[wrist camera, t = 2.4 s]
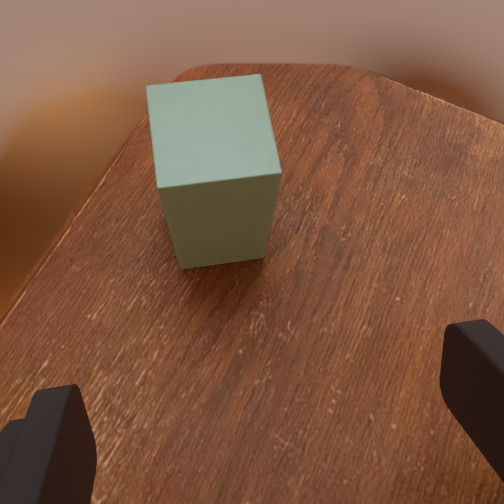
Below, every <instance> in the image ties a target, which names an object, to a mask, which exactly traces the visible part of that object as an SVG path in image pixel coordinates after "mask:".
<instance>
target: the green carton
mask: <svg viewBox="0 0 504 504" xmlns="http://www.w3.org/2000/svg"><path fill="white" fill-rule="evenodd" d="M146 96H147V105H148V114H149V123H150V132H151V141H152V150H153V159H154V168H155V177H156V187H157V191H158V194H159V198H160V201H161V205H162V208H163V211H164V215H165V218H166V222H167V225H168V229H169V232H170V235H171V239H172V242H173V246H174V249H175V253H176V256H177V259H178V263H179V266H180V269H181V270H183V269H190V268H197V267H204V266H211V265H218V264H225V263H232V262H239V261H246V260H253V259H260V258H264V256H265V251H266V246H267V242H268V237H269V232H270V228H271V223H272V218H273V213H274V209H275V204H276V199H277V195H278V190H279V185H280V180H281V176H282V169H281V165H280V160H279V156H278V151H277V146H276V142H275V137H274V132H273V128H272V123H271V119H270V114H269V109H268V105H267V100H266V95H265V91H264V86H263V82H262V77H261V74H255V75H246V76H236V77H226V78H216V79H206V80H196V81H187V82H177V83H168V84H157V85H147V86H146Z"/></svg>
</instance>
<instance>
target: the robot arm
mask: <svg viewBox="0 0 504 504" xmlns="http://www.w3.org/2000/svg"><path fill="white" fill-rule="evenodd" d="M440 389H441V393H442V396H443V399H444V401H445V403H446V405H447V407H448V408H449V410H450V411H451V412H452V414H453V415H454V416H455V418H456V419H457V420H458V422H459V423H460V424H461V426H462V427H463V429H464V430H465V431H466V433H467V434H468V435H469V437H470V438H471V439H472V441H473V442H474V443H475V445H476V446H477V447H478V449H479V450H480V451H481V453H482V454H483V455H484V457H485V458H486V459H487V461H488V462H489V463H490V465H491V466H492V467H493V469H494V470H495V471H496V473H497V474H498V475H499V477H500V478H501V479H502V481H503V482H504V335H503V334H502V333H500V332H499V331H498V330H497V329H496V328H495V327H494V326H493V325H492V324H490V323H489V322H488V321H486V320H484V319H479V320H473V321H467V322H461V323H455V324H450V325H448V326H447V327H446V330H445V334H444V343H443V352H442V361H441V371H440ZM96 465H97V452H96V443H95V439H94V435H93V432H92V428H91V425H90V422H89V418H88V415H87V412H86V408H85V405H84V402H83V398H82V395H81V392H80V389H79V387H78V386H77V385H76V384H73V385H66V386H60V387H54V388H48V389H42V390H37V391H36V392H35V394H34V396H33V398H32V401H31V403H30V406H29V409H28V411H27V414H26V416H25V418H24V419H18V420H13V421H10V422H9V423H8V424H7V425H6V426H5V427H4V428H3V430H2V431H1V432H0V504H90V501H91V496H92V490H93V485H94V479H95V473H96Z"/></svg>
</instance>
